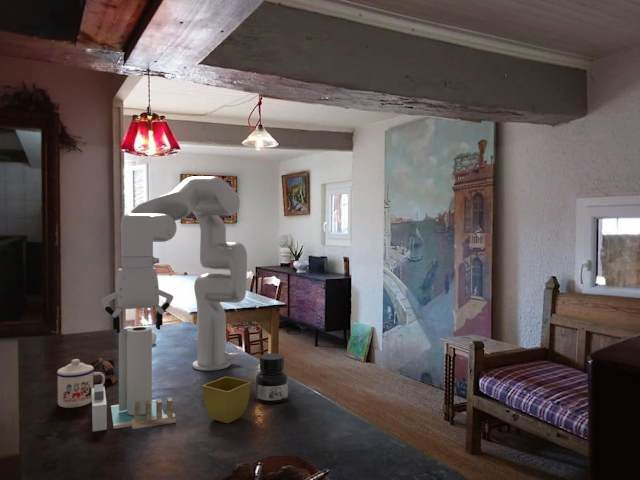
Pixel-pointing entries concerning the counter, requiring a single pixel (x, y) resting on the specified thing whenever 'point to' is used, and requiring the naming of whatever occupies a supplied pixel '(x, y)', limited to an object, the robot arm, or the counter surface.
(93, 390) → the block
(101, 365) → the pottery mug
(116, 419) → the pad
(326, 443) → the counter surface
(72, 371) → the teacup with lid
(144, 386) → the paper towel roll
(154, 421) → the cable comb
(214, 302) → the robot arm
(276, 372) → the ink bottle
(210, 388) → the flower pot
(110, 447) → the counter surface
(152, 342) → the elephant figurine
